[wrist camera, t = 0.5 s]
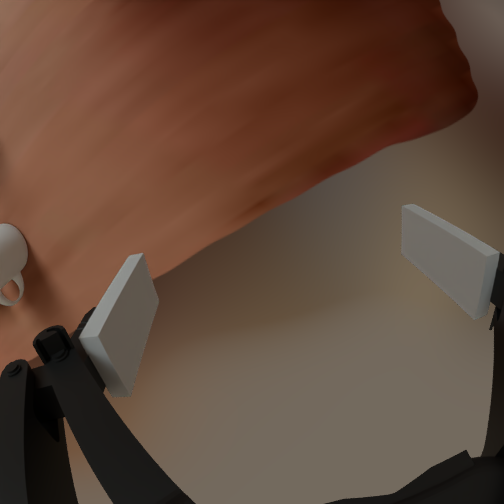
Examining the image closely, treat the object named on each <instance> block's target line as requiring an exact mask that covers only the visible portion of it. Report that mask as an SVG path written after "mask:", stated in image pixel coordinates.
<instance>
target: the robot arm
mask: <svg viewBox="0 0 504 504" xmlns="http://www.w3.org/2000/svg"><path fill="white" fill-rule="evenodd" d="M401 254H402V255H403V256H404V257H405V258H406V259H407V260H409V261H410V262H411V263H412V264H413V265H414V266H416V267H417V268H418V269H419V270H420V271H421V272H423V273H424V274H425V275H426V276H427V277H428V278H429V279H431V280H432V281H433V282H434V283H435V284H436V285H437V286H438V287H439V288H441V289H442V290H443V291H444V292H445V293H446V294H447V295H448V296H449V297H450V298H451V299H453V300H454V301H455V302H456V303H457V304H458V305H459V306H460V307H461V308H462V309H463V310H464V311H465V312H466V313H468V314H469V316H471V317H472V318H473V319H474V320H476V319H478V318H481V317H483V316H485V315H487V313H488V309H489V305H490V301H491V302H492V303H493V304H494V305H495V306H496V307H495V311H494V315H493V318H492V322H491V325H490V329H489V330H492V327H493V326H494V366H493V384H492V395H491V406H490V414H489V421H488V428H487V435H486V440H485V446H484V449H483V452H482V455H481V457H475V458H471V457H470V456H469V454H468V452H467V450H465V451H463V452H461V453H459V454H457V455H455V456H453V457H451V458H449V459H447V460H445V461H443V462H441V463H439V464H437V465H435V466H433V467H431V468H429V469H428V470H427V471H426V472H424V473H423V474H421V475H420V476H419V477H417V478H416V479H415V480H413V481H412V482H410V483H409V484H407V485H406V486H405V487H403V488H402V489H400V490H399V491H397V492H395V493H393V494H389V495H382V496H373V497H363V498H350V499H342V500H338V501H334V502H330V503H326V504H504V254H502V253H500V252H499V251H497V250H495V249H494V248H492V247H491V246H489V245H487V244H486V243H484V242H482V241H481V240H479V239H477V238H475V237H474V236H472V235H470V234H468V233H467V232H465V231H463V230H462V229H460V228H458V227H456V226H454V225H452V224H451V223H449V222H447V221H445V220H444V219H442V218H440V217H438V216H436V215H434V214H432V213H430V212H429V211H426V210H425V209H423V208H421V207H419V206H417V205H415V204H409V205H403V206H402V248H401ZM158 303H159V299H158V297H157V294H156V291H155V288H154V285H153V282H152V279H151V276H150V273H149V270H148V266H147V263H146V260H145V257H144V254H143V253H140V254H135V255H130V256H129V257H128V258H127V260H126V261H125V263H124V264H123V266H122V267H121V269H120V270H119V272H118V274H117V275H116V277H115V278H114V280H113V281H112V283H111V284H110V286H109V288H108V289H107V291H106V292H105V294H104V296H103V297H102V299H101V301H100V302H99V304H98V306H97V307H93V308H92V309H91V310H90V311H89V312H88V313H86V314H85V316H84V317H83V319H82V321H81V323H80V324H79V326H78V327H77V330H76V331H75V332H74V334H73V336H72V337H71V339H70V337H69V335H68V334H67V332H66V330H65V328H64V327H63V326H59V325H56V326H51V327H49V328H47V329H45V330H43V331H42V332H40V333H39V334H38V335H37V336H36V337H35V339H34V341H33V346H34V348H35V350H36V352H37V353H38V355H39V357H40V358H41V360H42V362H43V363H44V366H40V367H37V368H33V369H31V367H30V366H29V364H28V362H27V361H26V360H23V359H19V360H15V361H13V362H10V363H9V365H7V366H6V367H5V369H4V370H3V371H2V374H1V377H0V504H78V501H77V497H76V492H75V488H74V483H73V479H72V473H71V468H70V464H69V457H68V451H67V444H66V437H65V429H64V421H63V417H66V419H67V422H68V424H69V426H70V428H71V430H72V432H73V434H74V436H75V438H76V440H77V442H78V444H79V446H80V448H81V450H82V452H83V454H84V456H85V458H86V459H87V461H88V463H89V465H90V466H91V468H92V470H93V472H94V473H95V475H96V477H97V478H98V480H99V482H100V483H101V485H102V487H103V488H104V490H105V491H106V493H107V495H108V496H109V498H110V499H111V501H112V502H113V504H195V503H194V502H193V501H192V500H191V499H190V498H189V497H188V496H187V495H186V494H185V493H184V492H183V491H182V490H181V489H180V488H179V487H178V486H177V485H176V484H175V483H174V482H173V481H172V480H171V479H170V478H169V477H168V475H166V473H165V472H164V471H163V470H162V469H161V468H160V467H159V465H158V464H157V463H156V462H155V461H154V460H153V459H152V457H151V456H150V455H149V454H148V453H147V451H146V450H145V449H144V448H143V446H142V445H141V444H140V443H139V442H138V440H137V439H136V438H135V436H134V435H133V434H132V433H131V431H130V430H129V429H128V428H127V426H126V425H125V423H124V422H123V421H122V419H121V418H120V417H119V415H118V414H117V413H116V411H115V410H114V408H113V407H112V406H111V404H110V403H109V401H108V400H107V398H106V397H105V395H104V394H103V392H104V389H105V386H106V387H107V389H108V391H109V392H110V394H111V396H112V397H128V396H131V394H132V390H133V387H134V383H135V379H136V376H137V372H138V368H139V365H140V361H141V358H142V355H143V351H144V348H145V345H146V341H147V338H148V335H149V331H150V328H151V325H152V322H153V319H154V315H155V313H156V309H157V306H158Z"/></svg>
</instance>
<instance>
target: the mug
mask: <svg viewBox="0 0 504 504" xmlns="http://www.w3.org/2000/svg"><path fill="white" fill-rule="evenodd" d="M27 258H28V249H27V244H26V241H25V239H24V237H23V235H22V234H21V232H20V231H19V230H18V229H17V228H16V227H14V226H12V225H10V224H0V304H2V305H5V306H12V305H15V304H16V303H18V302H19V300H20V299H21V297H22V295H23V292H24V281H23V278H22V275H21V270H22V269H23V268H24V266H25V265H26V262H27ZM11 279H12V280H14V281H15V282H16V284H17V285H18V287H19V290H20V295H19V298H18V299H17V300H15V301H10V300H8V299H7V298H6V297H5V296H4V295H3V294H2V292H1V289H2V288H3V287H4V286H5V285H6V284H7V283H8V282H9V281H10V280H11Z"/></svg>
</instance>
